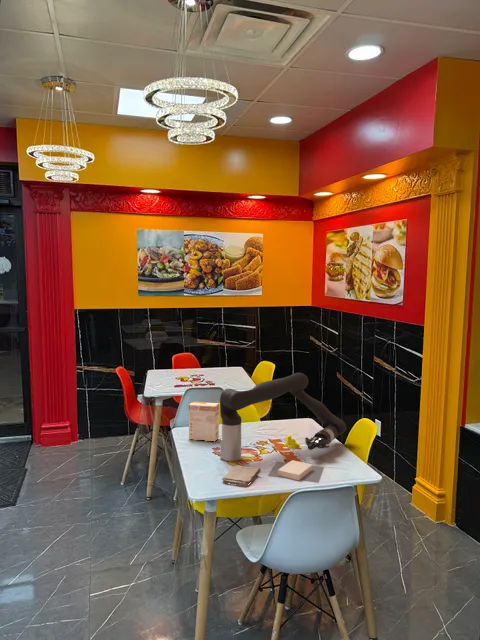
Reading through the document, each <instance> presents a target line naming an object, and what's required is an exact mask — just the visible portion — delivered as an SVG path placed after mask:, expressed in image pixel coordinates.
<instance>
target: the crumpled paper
mask: <svg viewBox="0 0 480 640" xmlns="http://www.w3.org/2000/svg"><path fill="white" fill-rule="evenodd" d="M284 441H285V442H284V443H283V447H287V448H288V449H295V450H296V449H297V450H299V449H300V448H301V447H300V442H299V441H297V442H296V438H292V434H291V433H289V434H288V435H287V436H286V437H285V438H284Z"/></svg>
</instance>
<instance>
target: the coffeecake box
mask: <svg viewBox="0 0 480 640" xmlns="http://www.w3.org/2000/svg"><path fill="white" fill-rule="evenodd" d="M219 425H220V402H219V403H218V402H203V401H202V402H201V401H192V402H191V403H189V404H188V440H189V439H194V440H193V441H196V440H206V441H205V442H207V441H214V442H213V443H216V442H217V441H218V440H219V439H220V436H219V435H220V434H219V433H220V431H219V429H220V428H219V427H220V426H219ZM218 438H219V439H218ZM217 439H218V440H217ZM216 440H217V441H216ZM215 441H216V442H215Z"/></svg>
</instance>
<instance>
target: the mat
mask: <svg viewBox="0 0 480 640" xmlns="http://www.w3.org/2000/svg"><path fill="white" fill-rule="evenodd" d="M287 463H288V462H284V461H276V462H275V463H274V465H273V467H272V468H271V470H270V471H269V473H268V474H267V477H273V478H280V479H285V480H286V479H288V480H290V479H289V478H285V477H281V476H278V469H280V468H281V467H283V466H284V465H286V464H287ZM324 469H325V467H324V466H319V465H318V466H316V465H312V471H311V472H309V473H308V474H307V475H306V476H304V477H303V478H302V479H300V480H299V481H302V482H311V483H317V484H318V483H319V482H320V480H321V477H322V474H323V471H324Z"/></svg>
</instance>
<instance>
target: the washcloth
mask: <svg viewBox="0 0 480 640" xmlns="http://www.w3.org/2000/svg"><path fill="white" fill-rule="evenodd" d="M260 470H261V468H260V467H255V466H245V465H238V464H237V465H234V466H233V467H232V468H231V469H230V470H229V471H228V472H227V473H226V474H225V475H224V476H223V477H222V478H221V480H222V482H223V484H226V483H230V484H236V485H235V486H237V485H241V486H240V487H242V486H246V487H248V486H249V485H250V484H249V483H250V482H251V483H252V482H253V481H254V480H255V479H256V478H257V476H258V475H257V474H258V473H259V471H260ZM224 482H225V483H224ZM230 484H229V485H230ZM248 484H249V485H248ZM247 485H248V486H247Z"/></svg>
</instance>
